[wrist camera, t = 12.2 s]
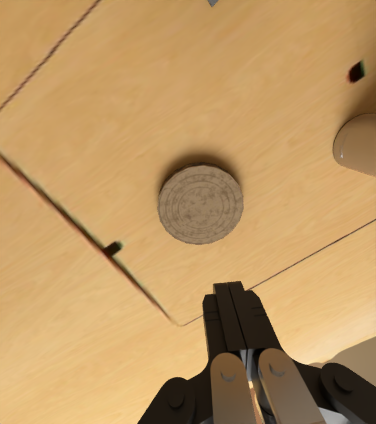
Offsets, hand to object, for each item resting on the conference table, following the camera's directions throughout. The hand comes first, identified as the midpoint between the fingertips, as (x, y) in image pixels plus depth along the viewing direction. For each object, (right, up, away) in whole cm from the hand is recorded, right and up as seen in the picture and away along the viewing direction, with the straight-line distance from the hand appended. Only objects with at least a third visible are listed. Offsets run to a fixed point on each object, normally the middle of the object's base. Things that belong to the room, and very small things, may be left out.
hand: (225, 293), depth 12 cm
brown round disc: (0, +7, +30) cm, 30 cm away
